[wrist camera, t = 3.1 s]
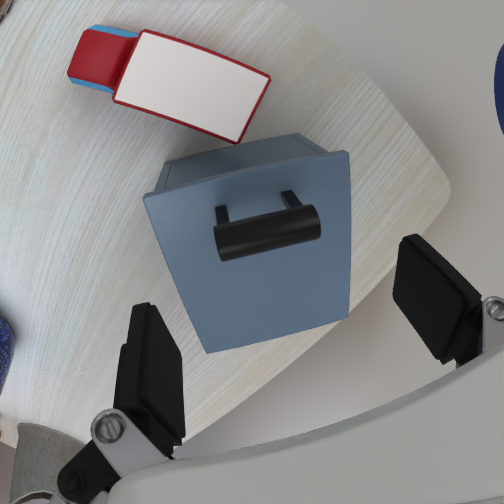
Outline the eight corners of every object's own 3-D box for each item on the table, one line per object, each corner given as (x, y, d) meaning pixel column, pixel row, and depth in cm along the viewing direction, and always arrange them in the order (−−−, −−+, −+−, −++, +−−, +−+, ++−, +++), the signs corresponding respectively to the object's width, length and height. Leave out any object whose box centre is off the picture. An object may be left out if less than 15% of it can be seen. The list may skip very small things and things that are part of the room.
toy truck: (100, 26, 18) (72, 13, 12) (256, 77, 23) (274, 77, 17) (78, 82, 20) (44, 85, 14) (229, 131, 25) (238, 147, 20)
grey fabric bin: (16, 413, 46) (0, 501, 25) (131, 453, 59) (134, 538, 39) (19, 438, 54) (9, 507, 33) (112, 470, 68) (112, 537, 47)
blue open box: (164, 162, 26) (148, 204, 18) (298, 133, 26) (344, 161, 18) (201, 279, 33) (205, 346, 25) (310, 252, 34) (344, 311, 26)
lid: (144, 193, 17) (126, 237, 13) (343, 149, 18) (390, 177, 13) (205, 347, 25) (210, 400, 21) (345, 311, 26) (369, 357, 21)
